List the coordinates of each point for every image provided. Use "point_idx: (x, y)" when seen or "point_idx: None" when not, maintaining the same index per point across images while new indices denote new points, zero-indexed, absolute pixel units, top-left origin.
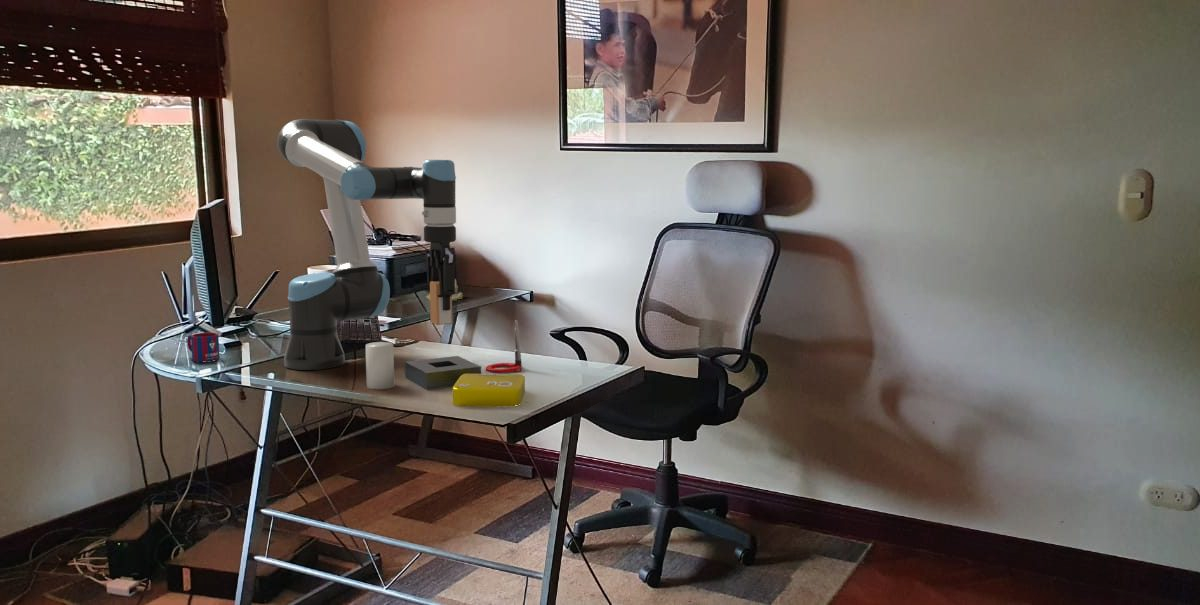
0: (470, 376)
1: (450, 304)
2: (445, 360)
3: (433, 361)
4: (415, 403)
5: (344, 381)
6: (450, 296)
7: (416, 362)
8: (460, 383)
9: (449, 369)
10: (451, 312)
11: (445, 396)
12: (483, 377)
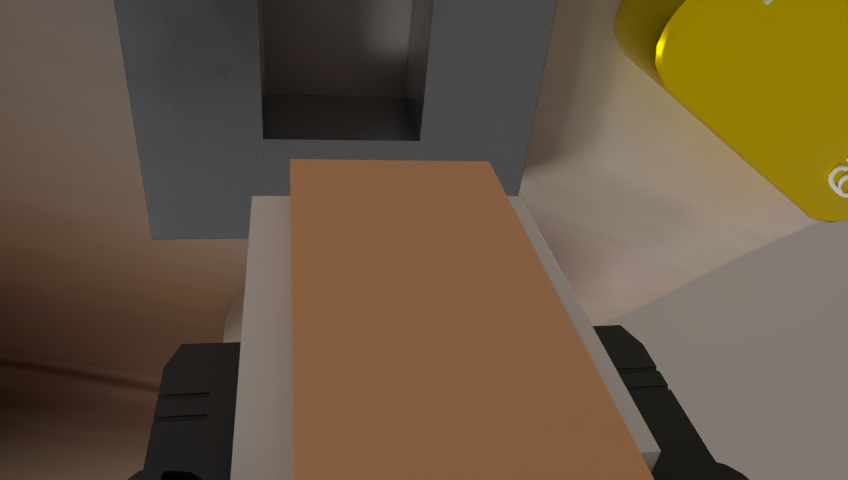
0: (744, 59)
1: (603, 350)
2: None
3: (227, 83)
4: (647, 290)
5: (125, 415)
6: (708, 470)
7: (206, 189)
8: (809, 170)
9: (516, 92)
10: (526, 246)
11: (649, 158)
12: (825, 3)
